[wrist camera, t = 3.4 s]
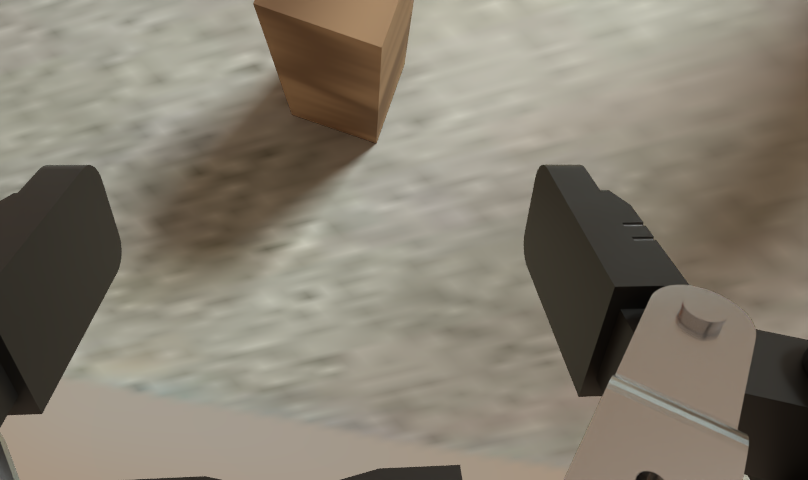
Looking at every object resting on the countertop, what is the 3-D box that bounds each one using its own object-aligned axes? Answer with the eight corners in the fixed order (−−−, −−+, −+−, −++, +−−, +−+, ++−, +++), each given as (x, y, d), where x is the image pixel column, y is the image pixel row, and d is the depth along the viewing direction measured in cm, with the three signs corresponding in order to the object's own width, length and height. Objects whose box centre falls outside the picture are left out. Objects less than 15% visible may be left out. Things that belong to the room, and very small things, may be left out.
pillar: (404, 64, 30) (423, -67, 20) (376, 143, 29) (381, 47, 19) (322, 36, 30) (299, -110, 20) (291, 114, 29) (253, 3, 19)
